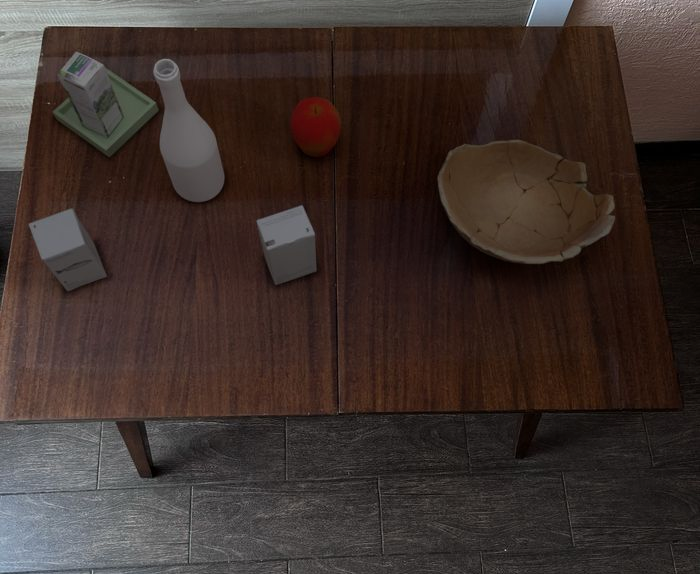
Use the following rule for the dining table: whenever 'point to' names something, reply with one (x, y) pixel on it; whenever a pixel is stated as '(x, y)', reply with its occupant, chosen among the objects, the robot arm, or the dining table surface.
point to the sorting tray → (135, 116)
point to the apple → (315, 126)
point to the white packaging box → (67, 249)
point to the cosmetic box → (288, 244)
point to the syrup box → (91, 94)
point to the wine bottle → (187, 141)
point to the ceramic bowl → (522, 202)
